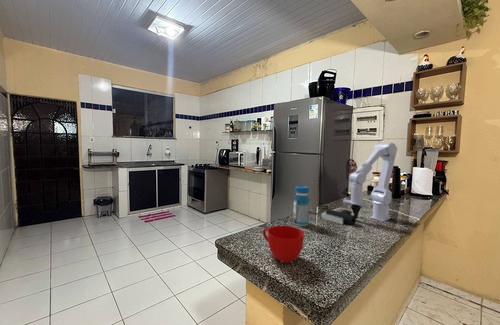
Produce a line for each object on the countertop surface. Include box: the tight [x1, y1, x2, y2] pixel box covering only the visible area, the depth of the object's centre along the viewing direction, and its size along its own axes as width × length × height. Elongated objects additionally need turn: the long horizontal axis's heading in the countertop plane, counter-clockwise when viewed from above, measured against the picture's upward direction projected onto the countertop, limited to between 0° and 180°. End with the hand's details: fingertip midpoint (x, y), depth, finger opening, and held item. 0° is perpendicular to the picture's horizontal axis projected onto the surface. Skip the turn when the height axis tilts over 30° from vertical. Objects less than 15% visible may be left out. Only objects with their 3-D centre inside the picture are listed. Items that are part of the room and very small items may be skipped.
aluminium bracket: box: [321, 207, 362, 225], centre depth 131 cm, size 21×13×3 cm, turn 129°
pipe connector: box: [325, 208, 357, 226], centre depth 127 cm, size 12×5×15 cm
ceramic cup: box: [262, 225, 305, 263], centre depth 83 cm, size 13×17×10 cm
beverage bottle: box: [292, 185, 311, 227], centre depth 118 cm, size 8×8×20 cm
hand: (355, 218), depth 125 cm, fingers closed, pressing on pipe connector
